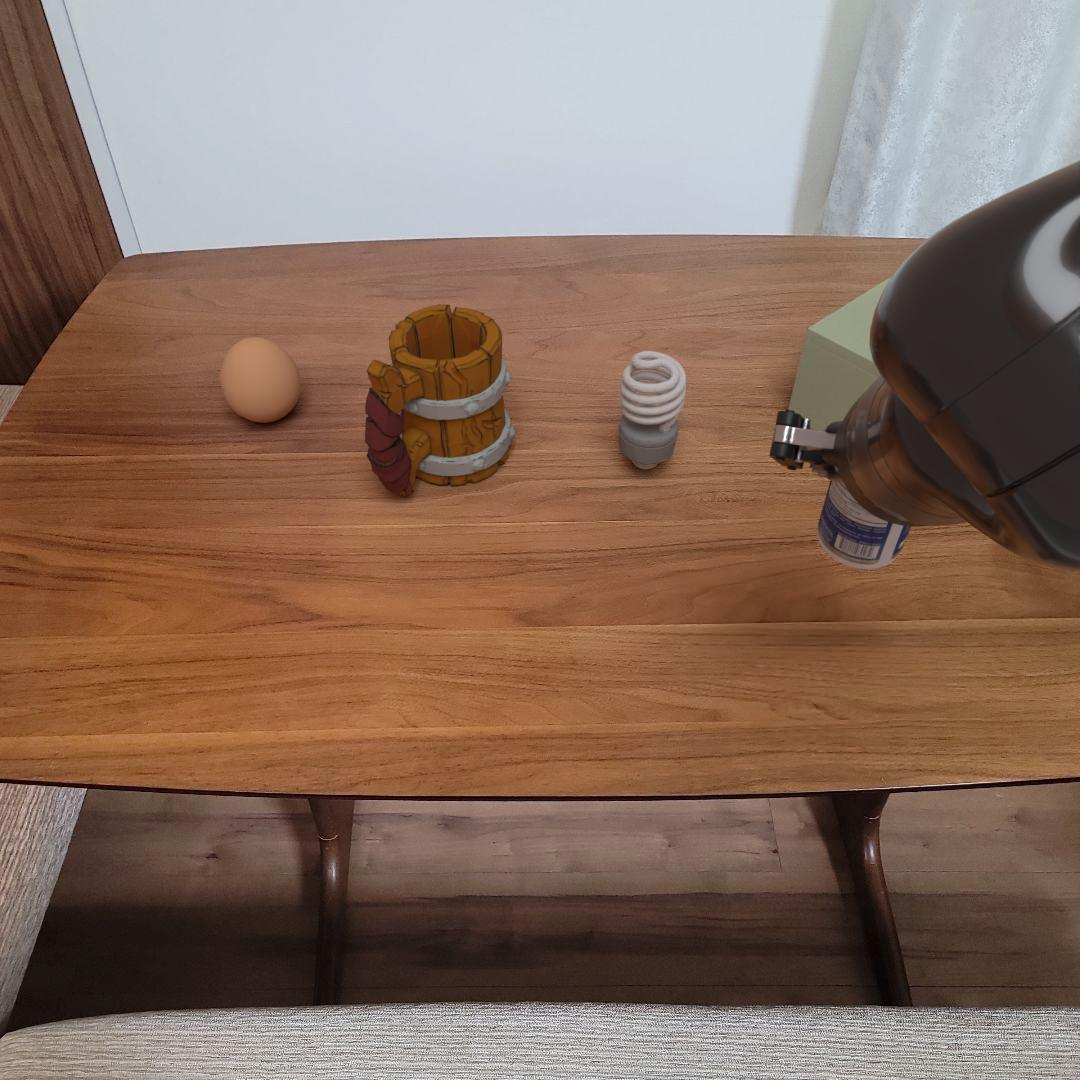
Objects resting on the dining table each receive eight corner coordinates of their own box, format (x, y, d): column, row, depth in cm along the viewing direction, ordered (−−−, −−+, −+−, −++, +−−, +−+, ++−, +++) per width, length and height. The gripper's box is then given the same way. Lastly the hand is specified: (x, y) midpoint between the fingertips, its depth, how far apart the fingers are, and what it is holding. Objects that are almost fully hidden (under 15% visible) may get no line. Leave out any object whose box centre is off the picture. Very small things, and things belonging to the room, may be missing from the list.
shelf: (972, 411, 91) (1009, 325, 84) (891, 475, 85) (923, 388, 78) (869, 358, 98) (895, 273, 90) (786, 414, 91) (807, 327, 84)
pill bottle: (867, 503, 62) (908, 386, 55) (918, 558, 59) (968, 440, 52) (798, 524, 61) (831, 407, 54) (846, 581, 58) (887, 463, 51)
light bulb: (602, 470, 86) (609, 363, 77) (635, 439, 89) (645, 332, 80) (654, 496, 83) (666, 388, 75) (686, 462, 86) (702, 355, 78)
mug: (536, 437, 89) (535, 300, 78) (430, 541, 80) (412, 402, 69) (446, 398, 93) (433, 264, 82) (336, 493, 84) (305, 355, 73)
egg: (295, 441, 89) (277, 368, 82) (221, 436, 89) (197, 363, 83) (316, 394, 94) (300, 321, 87) (245, 390, 94) (224, 317, 88)
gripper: (1127, 384, 40) (1010, 429, 56) (787, 334, 43) (771, 391, 59) (1090, 555, 40) (985, 550, 57) (755, 495, 43) (748, 506, 59)
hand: (876, 468), depth 58 cm, fingers closed on pill bottle, 5 cm apart
